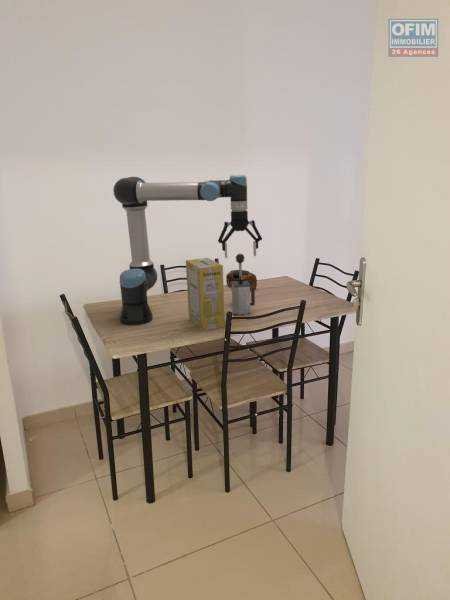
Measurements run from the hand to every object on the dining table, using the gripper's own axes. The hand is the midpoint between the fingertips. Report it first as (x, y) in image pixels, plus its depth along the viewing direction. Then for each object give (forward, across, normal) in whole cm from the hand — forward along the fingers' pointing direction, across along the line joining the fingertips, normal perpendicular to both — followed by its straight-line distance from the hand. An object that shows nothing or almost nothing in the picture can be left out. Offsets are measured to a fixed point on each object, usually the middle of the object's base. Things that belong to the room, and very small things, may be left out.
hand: (240, 256), depth 216 cm
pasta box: (+28, -18, -10) cm, 35 cm away
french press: (+28, +2, +14) cm, 31 cm away
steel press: (+28, +1, 0) cm, 28 cm away
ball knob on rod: (+13, 0, 0) cm, 13 cm away
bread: (+28, +7, +45) cm, 54 cm away
